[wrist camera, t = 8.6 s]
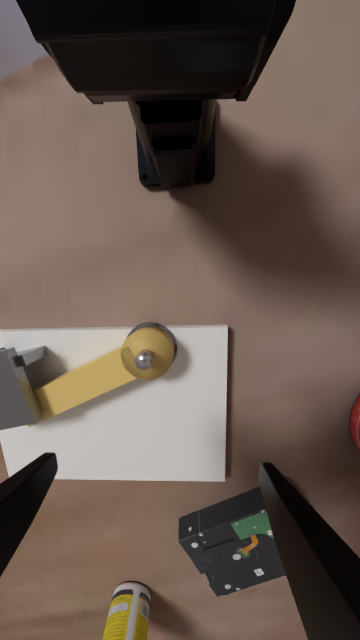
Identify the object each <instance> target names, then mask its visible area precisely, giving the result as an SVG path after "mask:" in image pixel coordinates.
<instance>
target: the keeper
mask: <svg viewBox="0 0 360 640" xmlns="http://www.w3.org/2000/svg"><path fill="white" fill-rule="evenodd" d="M46 355H48V352H47V350H46V347H45V345H44V346H40V347H36V348H32V349H27V350H23V351H19V352H16V350H15V348H14V347H13V348H9V349H4V347H2V348H0V430H4V429H9V428H14V427H19V426H24V425H29V424H34V423H37V422H38V421H39V420H40V419H42V418H43V415H42V412H41V410H40V407H39V405H38V403H37V400H36V398H35V395H34V393H33V391H32V388H31V386H30V383H29V381H28V379H27V376H26V374H25V371H24V369H23V367H22V366H26V365H28V364H30V363H32V362H34V361H36V360H38V359H40V358H42V357H44V356H46Z"/></svg>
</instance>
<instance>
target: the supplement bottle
mask: <svg viewBox="0 0 360 640" xmlns="http://www.w3.org/2000/svg"><path fill="white" fill-rule="evenodd" d="M150 603H151V596H150V593H149V591H148V589H147V588H146V587H145V586H143V585H141V584H139V583H135V582H126V583H122V584H120V585H119V586H118V587H117V588H116V589H115V591H114V594H113V598H112V602H111V606H110V610H109V614H108V618H107V623H106V627H105V631H104V636H103V640H147V631H148V622H149V613H150Z"/></svg>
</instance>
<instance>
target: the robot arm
mask: <svg viewBox="0 0 360 640" xmlns="http://www.w3.org/2000/svg"><path fill="white" fill-rule="evenodd" d="M16 1H17V3H18V5H19V7H20V9H21V11H22V13H23V15H24V17H25V18H26V20H27V22H28V24H29V27H30V29H31V32H32V34H33V36H34V38H35V40H36V41H37V42H38V43H41V45H42V46H43V47H44V49H45V50H46V51H47V52H48V54H49V55H50V56H51V57H52V58H53V59H54V61H55V62H56V64H57V66H58V68H59V70H60V71H61V73H62V74H63V76H64V77H65V79H66V80H67V82H68V83H69V84H70V86H71V87H72V88H73V89H74V90H75V91H76V92H77V93H84V94H85V96H86V97H87V98H88V99H89V100H90V101H91V102H92V103H93V104H103V102H117V101H127V102H128V105H129V108H130V111H131V114H132V117H133V120H134V123H135V126H136V137H137V153H138V169H139V180H140V182H141V184H142V185H143V186H162V187H163V188H170V187H189V186H191V185H192V184H203V183H211V182H212V181H213V179H214V175H215V106H216V100H217V99H236V101H246V100H247V98H248V97H249V95H250V93H251V91H252V89H253V87H254V85H255V84H256V82H257V80H258V78H259V76H260V74H261V73H262V71H263V69H264V67H265V65H266V63H267V61H268V59H269V57H270V55H271V53H272V51H273V49H274V48H275V46H276V44H277V42H278V40H279V38H280V36H281V34H282V32H283V30H284V28H285V26H286V24H287V22H288V21H289V19H290V17H291V14H292V12H293V9H294V6H295V2H296V0H16ZM208 173H209V174H211V177H207V176H206V174H208ZM144 177H147V178H148V179H147V180H146V181H143V178H144ZM57 470H58V463H57V457H56V454H55V453H54V452H46V453H44V454H42V455H41V456H39V457H38V458H36V459H35V460H34V461H32V462H31V463H29V464H28V465H26V466H25V467H24V468H22V469H21V470H19V471H18V472H16V473H15V474H14V475H12V476H11V477H9V478H8V479H6V480H5V481H4V482H2V483H1V484H0V577H1V575H2V573H3V572H4V570H5V568H6V567H7V565H8V563H9V561H10V560H11V558H12V556H13V554H14V553H15V551H16V549H17V548H18V546H19V544H20V542H21V541H22V539H23V537H24V536H25V534H26V532H27V530H28V529H29V527H30V525H31V523H32V522H33V520H34V518H35V516H36V514H37V512H38V510H39V508H40V506H41V504H42V502H43V500H44V498H45V496H46V494H47V492H48V490H49V488H50V486H51V484H52V482H53V480H54V478H55V476H56V473H57ZM259 485H260V488H261V492H262V496H263V500H264V504H265V508H266V512H267V516H268V519H269V523H270V527H271V531H272V534H273V537H274V541H275V544H276V547H277V550H278V552H279V555H280V558H281V561H282V564H283V567H284V570H285V573H286V576H287V579H288V582H289V585H290V588H291V591H292V594H293V597H294V599H295V602H296V605H297V608H298V611H299V614H300V617H301V620H302V623H303V626H304V629H305V632H306V635H307V638H308V640H360V558H359V557H358V556H357V555H356V554H355V553H354V552H353V550H352V549H351V548H350V547H349V546H348V545H347V544H346V543H345V542H344V541H343V540H342V539H341V537H340V536H339V535H338V534H337V533H336V532H335V531H334V530H333V529H332V528H331V527H330V526H329V525H328V523H327V522H326V521H325V520H324V519H323V518H322V517H321V516H320V515H319V514H318V513H317V512H316V510H315V509H314V508H313V507H312V506H311V505H310V504H309V503H308V502H307V501H306V500H305V499H304V498H303V496H302V495H301V494H300V493H299V492H298V491H297V490H296V489H295V488H294V487H293V486H292V485H291V483H290V482H289V481H288V480H287V479H286V478H285V477H284V476H283V475H282V474H281V473H280V472H279V471H278V469H277V468H276V467H275V466H274V465H273V464H272V463H270V462H261V463H260V469H259Z"/></svg>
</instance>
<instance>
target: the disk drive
mask: <svg viewBox="0 0 360 640" xmlns="http://www.w3.org/2000/svg"><path fill="white" fill-rule="evenodd" d="M285 478H286V479H287V480H288V481H289V479H288V477H285ZM289 482H290V481H289ZM290 483H291V482H290ZM291 485H292V484H291ZM179 543H180V544H181V546H182V547H183V549H184V550H185V551H186V553H187V554H188V555H189V557H190V558H191V560H192V561H193V563H194V564H195V566H196V567H197V569H198V570H199V572H200V573H201V574H202V573H206V576H207V578H208V580H209V586H210V587H211V588H212V590H213V591H214V593H215V594H216V596H221V595H227V594H229V593H233V592H236V591H237V590H241V589H244V588H248V587H250V586H254V585H257V584H260V583H263V582H266V581H269V580H272V579H276V578H279V577H281V576H285V575H286V573H285V570H284V567H283V564H282V561H281V558H280V555H279V552H278V550H277V547H276V544H275V541H274V537H273V534H272V531H271V527H270V523H269V519H268V516H267V512H266V508H265V504H264V500H263V496H262V492H261V488H260V487H258V488H255V489H253V490H251V491H248V492H245V493H243V494H240V495H238V496H235V497H232V498H230V499H227V500H225V501H222V502H219V503H217V504H215V505H212V506H209V507H207V508H204V509H202V510H199V511H196V512H193V513H191V514H188V515H186V516H183V517H181V518H179Z"/></svg>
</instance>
